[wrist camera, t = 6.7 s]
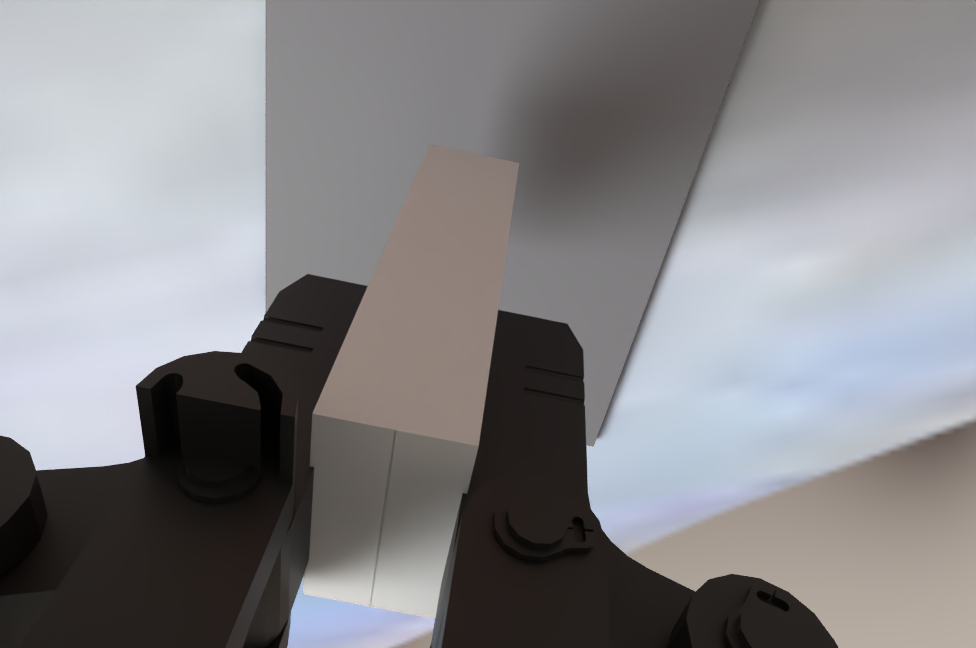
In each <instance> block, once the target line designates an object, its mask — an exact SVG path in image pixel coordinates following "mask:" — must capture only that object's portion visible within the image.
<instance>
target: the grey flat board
mask: <svg viewBox="0 0 976 648" xmlns="http://www.w3.org/2000/svg"><path fill="white" fill-rule="evenodd" d="M759 2H760V0H266V312H267V311H268V309H269V307H270V306H271V304H272V303H273V301H274V299H275V298H276V296H277V294H278V293H279V291H281V290H282V289H284V288H286V287H287V286H289V285H291V284H292V283H294V282H295V281H297V280H299V279H300V278H302V277H303V276H305V275H307V274H311V275H316V276H321V277H326V278H331V279H336V280H341V281H346V282H351V283H355V284H360V285H365V286H368V284H369V282H370V280H371V278H372V275H373V273H374V271H375V268H376V266H377V264H378V261H379V259H380V257H381V255H382V252H383V250H384V248H385V245H386V243H387V241H388V238H389V236H390V234H391V231H392V229H393V227H394V225H395V222H396V220H397V218H398V215H399V213H400V211H401V208H402V206H403V204H404V202H405V199H406V197H407V195H408V192H409V190H410V188H411V185H412V183H413V181H414V179H415V176H416V174H417V172H418V169H419V167H420V165H421V162H422V160H423V158H424V156H425V153H426V151H427V149H428V146H429V144H430V145H435V146H440V147H445V148H449V149H454V150H459V151H464V152H469V153H473V154H478V155H483V156H488V157H493V158H498V159H502V160H507V161H512V162H517V163H519V168H518V175H517V182H516V189H515V196H514V203H513V210H512V217H511V224H510V231H509V238H508V245H507V252H506V259H505V266H504V273H503V280H502V286H501V293H500V300H499V307H498V310H502V311H507V312H512V313H517V314H522V315H527V316H532V317H537V318H542V319H547V320H552V321H557V322H562V323H567V324H568V325H569V327H570V329H571V330H572V332H573V334H574V335H575V337H576V339H577V340H578V342H579V344H580V345H581V347H582V348H583V355H584V380H583V382H584V388H585V401H584V405H585V421H586V445H589V446H594V444H595V441H596V438H597V436H598V433H599V430H600V428H601V425H602V422H603V420H604V417H605V414H606V412H607V409H608V406H609V403H610V401H611V398H612V395H613V393H614V390H615V387H616V385H617V382H618V379H619V377H620V374H621V371H622V369H623V366H624V363H625V361H626V358H627V355H628V353H629V350H630V347H631V345H632V342H633V339H634V337H635V334H636V331H637V328H638V326H639V323H640V320H641V318H642V315H643V312H644V310H645V307H646V304H647V302H648V299H649V296H650V294H651V291H652V288H653V286H654V283H655V280H656V278H657V275H658V272H659V270H660V267H661V264H662V261H663V259H664V256H665V253H666V251H667V248H668V245H669V243H670V240H671V237H672V235H673V232H674V229H675V227H676V224H677V221H678V219H679V216H680V213H681V211H682V208H683V205H684V203H685V200H686V197H687V195H688V192H689V189H690V186H691V184H692V181H693V178H694V176H695V173H696V170H697V168H698V165H699V162H700V160H701V157H702V154H703V152H704V149H705V146H706V144H707V141H708V138H709V136H710V133H711V130H712V128H713V125H714V122H715V119H716V117H717V114H718V111H719V109H720V106H721V103H722V101H723V98H724V95H725V93H726V90H727V87H728V85H729V82H730V79H731V77H732V74H733V71H734V69H735V66H736V63H737V61H738V58H739V55H740V53H741V50H742V47H743V44H744V42H745V39H746V36H747V34H748V31H749V28H750V26H751V23H752V20H753V18H754V15H755V12H756V10H757V7H758V4H759Z"/></svg>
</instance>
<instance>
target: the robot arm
mask: <svg viewBox="0 0 976 648" xmlns="http://www.w3.org/2000/svg"><path fill="white" fill-rule="evenodd" d="M518 168H519V163H517V162H512V161H507V160H502V159H498V158H493V157H488V156H483V155H478V154H473V153H469V152H464V151H459V150H454V149H449V148H445V147H440V146H435V145H430V144H429V146H428V149H427V151H426V153H425V156H424V158H423V160H422V162H421V165H420V167H419V169H418V172H417V174H416V176H415V179H414V181H413V183H412V185H411V188H410V190H409V192H408V195H407V197H406V199H405V202H404V204H403V206H402V208H401V211H400V213H399V215H398V218H397V220H396V222H395V225H394V227H393V229H392V231H391V234H390V236H389V238H388V241H387V243H386V245H385V248H384V250H383V252H382V255H381V257H380V259H379V261H378V264H377V266H376V268H375V271H374V273H373V275H372V278H371V280H370V282H369V284H368V286H365V285H360V284H355V283H351V282H346V281H341V280H336V279H331V278H326V277H321V276H316V275H311V274H307V275H305V276H303V277H302V278H300V279H299V280H297V281H295V282H294V283H292V284H291V285H289V286H287V287H286V288H284V289H282V290H281V291H279V293H278V294H277V296H276V298H275V299H274V301H273V303H272V304H271V306H270V307H269V309H268V311H267V312H266V314H265V315H264V320H263V321H261V322H260V324H259V325H258V327H257V328H256V330H255V332H254V333H253V335H252V338H251V342H250V341H248V343H247V345H246V346H245V348H244V349H243V351H242V353H233V352H219V351H213V352H207V353H201V354H195V355H189V356H183V357H181V358H179V359H176V360H174V361H172V362H170V363H167V364H165V365H163V366H160V367H158V368H156V369H155V370H154V371H152V372H151V373H150V374H149V375H148V376H147V377H146V378H144V379H143V380H142V381H141V382H140V383H139V384H138V385H136V391H137V399H138V406H139V413H140V420H141V427H142V435H143V442H144V449H145V457H144V458H143V459H140V460H137V461H133V462H130V463H124V464H117V465H110V466H103V467H87V468H71V469H55V470H39V471H36V469H35V466H34V464H33V461H32V458H31V455H30V452H29V451H28V450H26V449H25V448H23V447H22V446H21V445H19V444H18V443H17V442H15V441H14V440H13V439H11V438H9V437H4V436H0V648H287V645H288V638H289V629H290V616H291V609H292V606H293V603H294V601H295V598H296V595H297V592H298V589H299V586H300V584H301V581H302V578H303V575H304V587H303V594H306V595H311V596H316V597H322V598H327V599H332V600H338V601H343V602H348V603H353V604H359V605H364V606H369V607H375V608H380V609H385V610H390V611H396V612H401V613H406V614H412V615H417V616H422V617H427V618H433V619H435V624H434V630H433V636H432V642H431V646H430V648H838V646H837V644H836V643H835V641H834V639H833V638H832V637H831V635H830V634H829V633H828V631H827V630H826V629H825V627H824V626H823V625H822V623H821V622H820V621H819V619H818V618H817V617H816V615H815V614H814V613H813V612H812V611H811V610H809V609H808V608H807V607H806V606H805V605H803V604H802V603H801V602H799V600H797V599H796V598H795V597H794V596H792V595H791V594H790V593H789V592H787V591H785V590H783V589H781V588H779V587H777V586H774V585H772V584H770V583H768V582H766V581H764V580H762V579H760V578H754V577H748V576H741V575H735V574H730V575H726V576H722V577H717V578H713V579H709V580H708V581H707V582H706V583H704V585H702V586H701V587H700V588H699V589H698V590H697V591H696V592H695V591H693V590H691V589H689V588H686V587H685V586H683V585H681V584H678V583H676V582H674V581H672V580H670V579H668V578H666V577H664V576H662V575H660V574H658V573H656V572H654V571H652V570H650V569H648V568H646V567H645V566H643V565H641V564H640V563H638V562H636V561H635V560H633V559H632V558H630V557H628V556H627V555H626V554H625V553H624V552H622V551H621V550H620V549H619V548H618V547H617V546H616V545H614V544H613V543H612V542H611V541H610V539H609V538H608V537H607V536H606V534H605V533H604V532H603V530H602V529H601V525H600V522H599V520H598V518H597V517H596V516H595V514H594V513H593V512H592V510H591V508H590V502H589V497H588V487H587V454H586V421H585V405H584V401H585V388H584V382H583V380H584V355H583V348H582V347H581V345H580V344H579V342H578V340H577V339H576V337H575V335H574V334H573V332H572V330H571V329H570V327H569V325H568V324H567V323H562V322H557V321H552V320H547V319H542V318H537V317H532V316H527V315H522V314H517V313H512V312H507V311H502V310H498V307H499V300H500V293H501V286H502V280H503V273H504V266H505V259H506V252H507V245H508V238H509V231H510V224H511V217H512V210H513V203H514V196H515V189H516V182H517V175H518Z"/></svg>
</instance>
